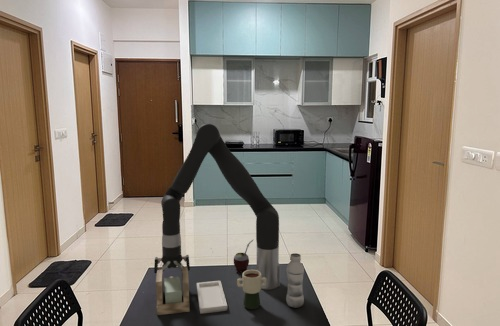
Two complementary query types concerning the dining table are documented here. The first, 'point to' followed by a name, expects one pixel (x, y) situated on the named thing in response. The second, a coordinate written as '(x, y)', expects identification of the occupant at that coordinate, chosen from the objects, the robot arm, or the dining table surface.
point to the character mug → (251, 288)
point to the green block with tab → (172, 290)
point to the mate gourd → (241, 261)
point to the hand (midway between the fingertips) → (172, 280)
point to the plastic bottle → (295, 281)
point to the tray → (211, 297)
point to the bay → (173, 306)
